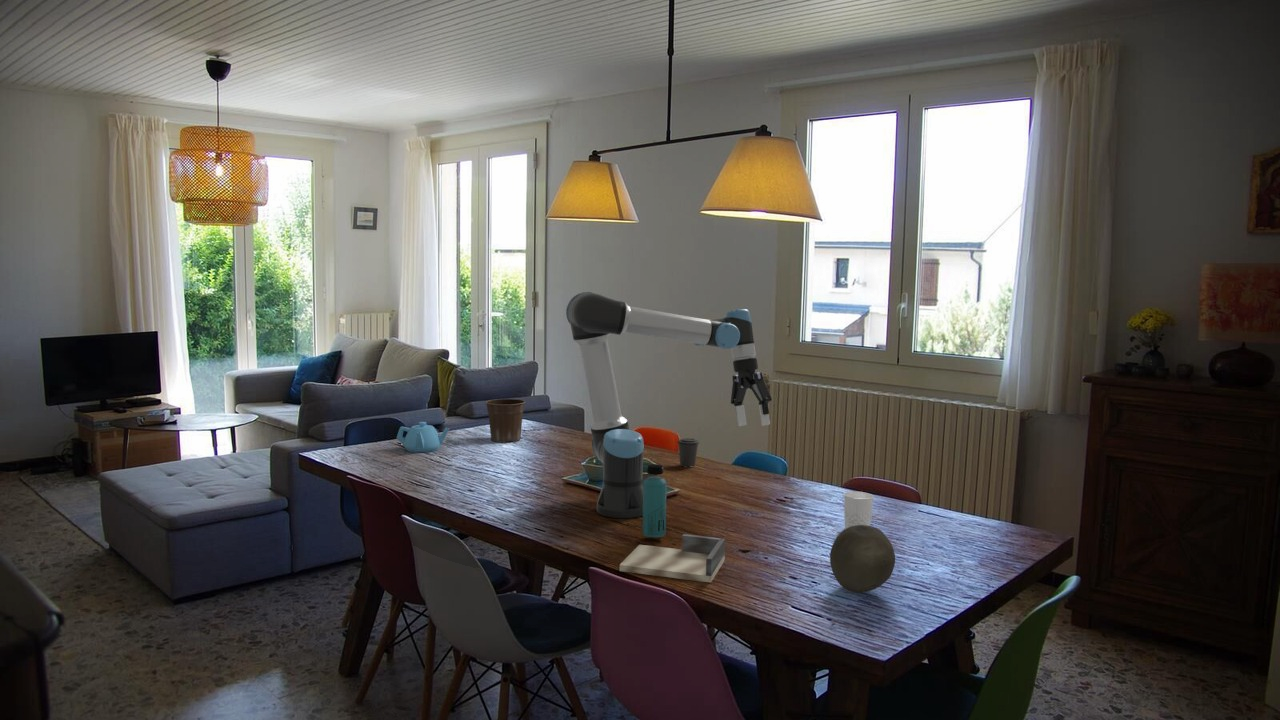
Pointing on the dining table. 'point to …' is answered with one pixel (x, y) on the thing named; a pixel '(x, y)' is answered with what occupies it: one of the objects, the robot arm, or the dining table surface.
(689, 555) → the corner board
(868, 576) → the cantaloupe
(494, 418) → the plant pot
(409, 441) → the teapot
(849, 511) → the white cup
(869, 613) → the dining table surface
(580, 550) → the dining table surface
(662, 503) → the beverage bottle
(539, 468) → the dining table surface
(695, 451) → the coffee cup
